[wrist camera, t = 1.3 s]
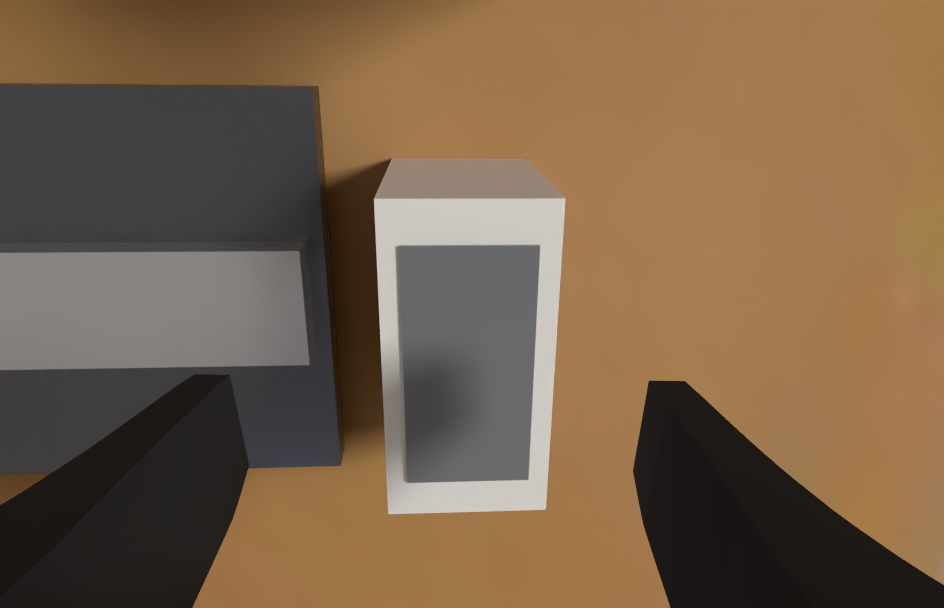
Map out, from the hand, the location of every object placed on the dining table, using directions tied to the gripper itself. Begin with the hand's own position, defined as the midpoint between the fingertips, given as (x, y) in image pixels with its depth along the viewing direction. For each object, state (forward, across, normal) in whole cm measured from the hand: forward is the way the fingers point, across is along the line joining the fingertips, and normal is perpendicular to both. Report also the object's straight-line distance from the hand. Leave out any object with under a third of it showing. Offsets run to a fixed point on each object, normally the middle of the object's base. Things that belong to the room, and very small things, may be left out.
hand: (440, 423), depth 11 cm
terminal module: (+9, 0, +2) cm, 10 cm away
